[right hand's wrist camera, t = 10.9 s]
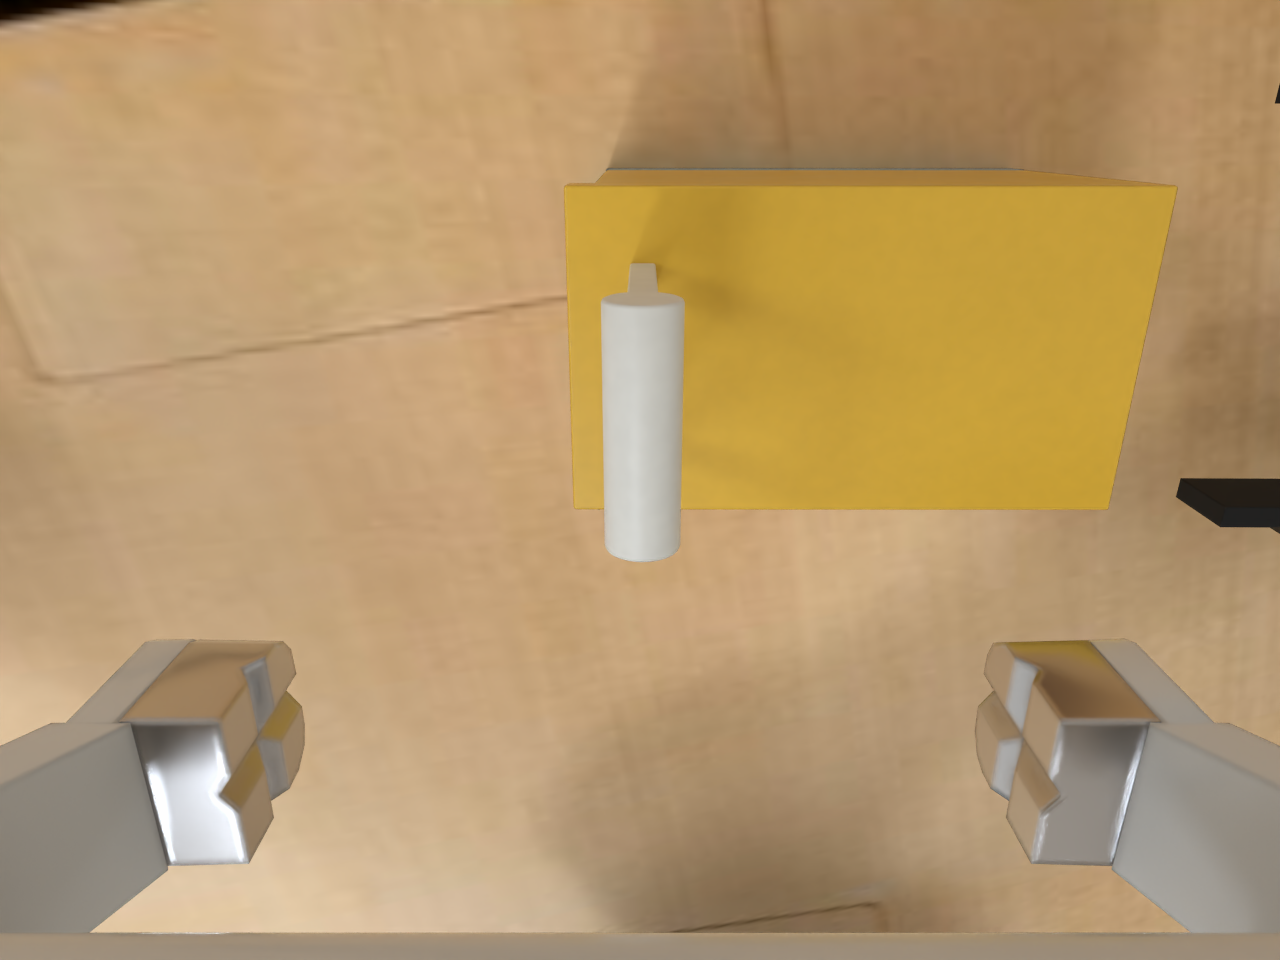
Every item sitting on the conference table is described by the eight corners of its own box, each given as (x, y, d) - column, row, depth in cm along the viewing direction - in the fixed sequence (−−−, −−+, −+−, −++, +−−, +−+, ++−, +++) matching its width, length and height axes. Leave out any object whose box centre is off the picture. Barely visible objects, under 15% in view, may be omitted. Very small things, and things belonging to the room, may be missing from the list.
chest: (610, 402, 37) (599, 495, 28) (607, 168, 34) (593, 182, 24) (976, 403, 37) (1090, 496, 28) (1011, 168, 34) (1155, 183, 24)
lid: (576, 495, 28) (550, 636, 20) (567, 183, 24) (531, 207, 17) (1091, 496, 28) (1265, 637, 20) (1156, 183, 24) (1396, 207, 17)
